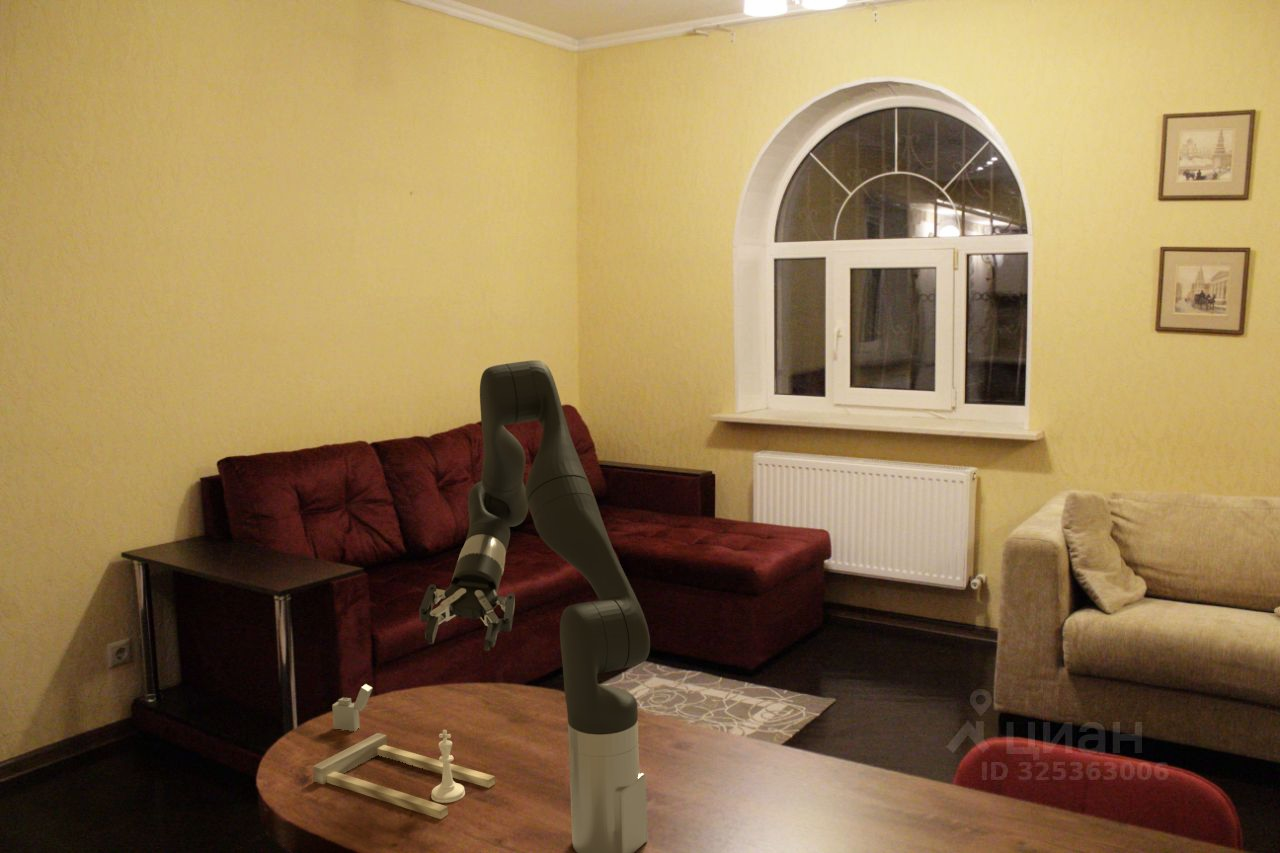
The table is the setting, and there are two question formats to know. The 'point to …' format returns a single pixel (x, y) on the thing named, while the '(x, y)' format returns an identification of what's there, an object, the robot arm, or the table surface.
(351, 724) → the lighter
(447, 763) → the chess piece
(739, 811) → the table surface
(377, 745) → the track
